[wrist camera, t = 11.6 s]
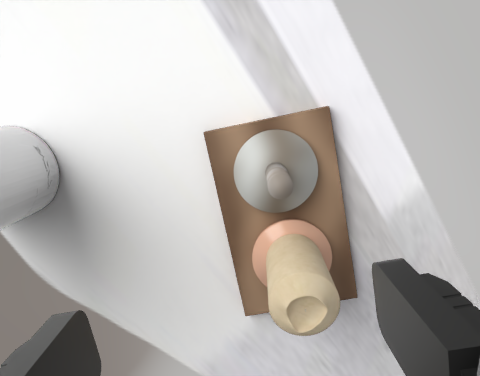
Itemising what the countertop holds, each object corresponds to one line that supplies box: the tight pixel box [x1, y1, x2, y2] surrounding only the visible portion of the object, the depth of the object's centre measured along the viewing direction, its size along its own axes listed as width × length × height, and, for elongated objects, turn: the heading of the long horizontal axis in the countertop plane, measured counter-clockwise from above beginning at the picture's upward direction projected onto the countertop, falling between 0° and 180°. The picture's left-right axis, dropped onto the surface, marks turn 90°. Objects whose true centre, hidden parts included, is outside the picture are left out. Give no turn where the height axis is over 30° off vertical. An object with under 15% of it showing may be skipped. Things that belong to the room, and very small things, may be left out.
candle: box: [266, 234, 340, 336], centre depth 31 cm, size 6×6×10 cm
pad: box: [252, 218, 332, 287], centre depth 37 cm, size 8×8×1 cm
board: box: [204, 106, 358, 316], centre depth 33 cm, size 12×20×8 cm, turn 12°
